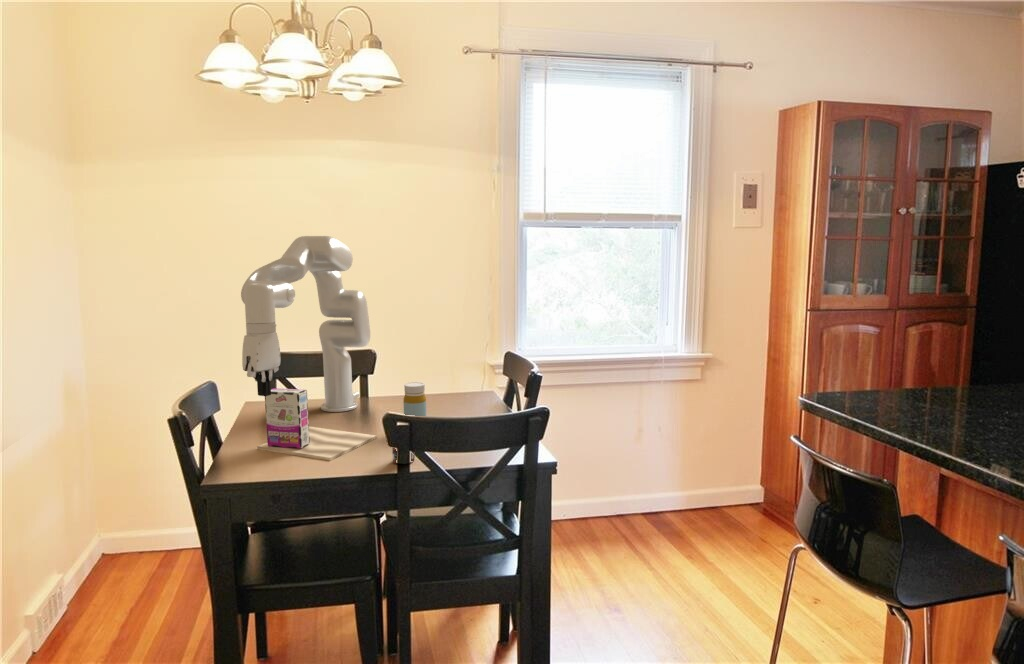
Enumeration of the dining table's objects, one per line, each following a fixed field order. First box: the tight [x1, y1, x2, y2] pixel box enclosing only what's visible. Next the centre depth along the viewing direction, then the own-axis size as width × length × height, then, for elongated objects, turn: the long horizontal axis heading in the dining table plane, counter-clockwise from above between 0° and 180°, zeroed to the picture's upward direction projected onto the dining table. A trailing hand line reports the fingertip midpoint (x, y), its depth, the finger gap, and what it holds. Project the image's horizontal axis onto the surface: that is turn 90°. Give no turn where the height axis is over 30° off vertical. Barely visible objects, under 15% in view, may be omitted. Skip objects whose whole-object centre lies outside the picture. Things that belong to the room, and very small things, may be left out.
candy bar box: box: [264, 388, 310, 449], centre depth 194 cm, size 11×5×16 cm, turn 76°
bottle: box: [403, 381, 427, 416], centre depth 211 cm, size 7×7×15 cm
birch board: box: [256, 426, 378, 461], centre depth 200 cm, size 22×26×1 cm
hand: (264, 395), depth 185 cm, fingers closed
